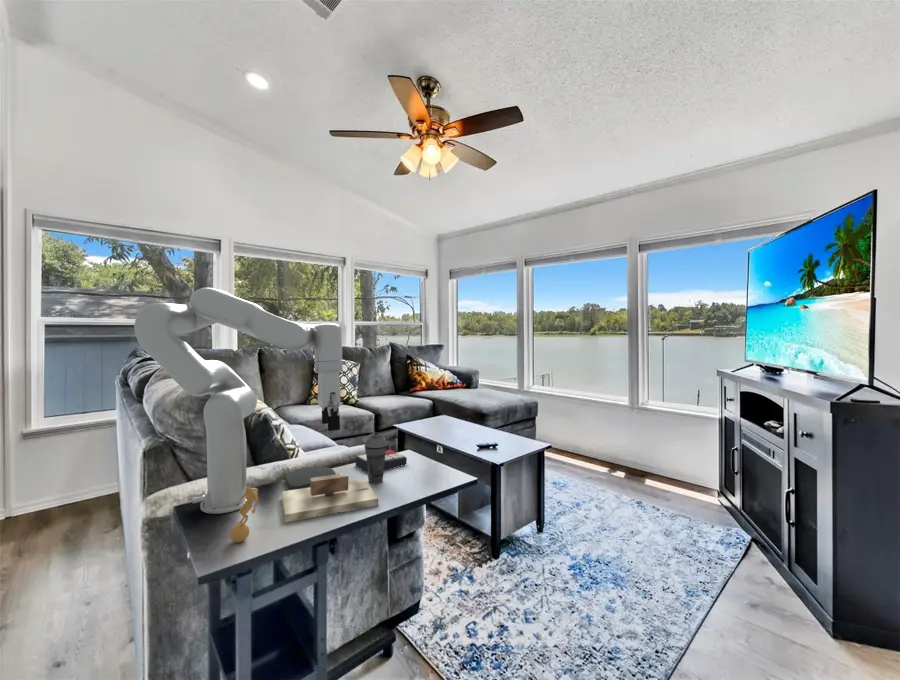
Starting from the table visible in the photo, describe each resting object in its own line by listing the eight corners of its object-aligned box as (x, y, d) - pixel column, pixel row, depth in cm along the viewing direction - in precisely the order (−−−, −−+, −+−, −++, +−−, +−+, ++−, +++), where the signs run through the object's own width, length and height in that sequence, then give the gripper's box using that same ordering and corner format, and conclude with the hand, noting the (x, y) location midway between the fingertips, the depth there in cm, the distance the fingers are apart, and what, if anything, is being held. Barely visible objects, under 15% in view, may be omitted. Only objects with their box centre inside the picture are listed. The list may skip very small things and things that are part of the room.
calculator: (407, 455, 145) (371, 462, 135) (406, 467, 145) (370, 474, 135) (390, 448, 154) (355, 454, 144) (390, 459, 154) (354, 466, 144)
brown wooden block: (311, 499, 110) (311, 481, 109) (310, 495, 112) (310, 477, 112) (348, 493, 114) (348, 475, 114) (346, 489, 116) (346, 472, 116)
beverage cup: (384, 485, 125) (385, 422, 125) (361, 485, 125) (362, 422, 125) (388, 477, 132) (389, 417, 132) (367, 476, 133) (367, 417, 132)
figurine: (223, 538, 93) (223, 487, 93) (250, 528, 97) (250, 480, 97) (237, 551, 87) (237, 497, 87) (265, 540, 92) (265, 489, 92)
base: (285, 522, 101) (285, 514, 101) (281, 496, 117) (281, 488, 117) (378, 505, 111) (378, 497, 111) (363, 483, 127) (363, 476, 127)
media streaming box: (283, 479, 131) (283, 470, 131) (328, 472, 138) (328, 463, 138) (290, 495, 118) (290, 485, 118) (340, 486, 125) (340, 476, 125)
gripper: (310, 365, 120) (312, 422, 120) (319, 370, 104) (322, 435, 105) (336, 364, 123) (338, 419, 123) (348, 368, 107) (350, 431, 108)
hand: (330, 426), depth 114 cm, fingers open, 9 cm apart
